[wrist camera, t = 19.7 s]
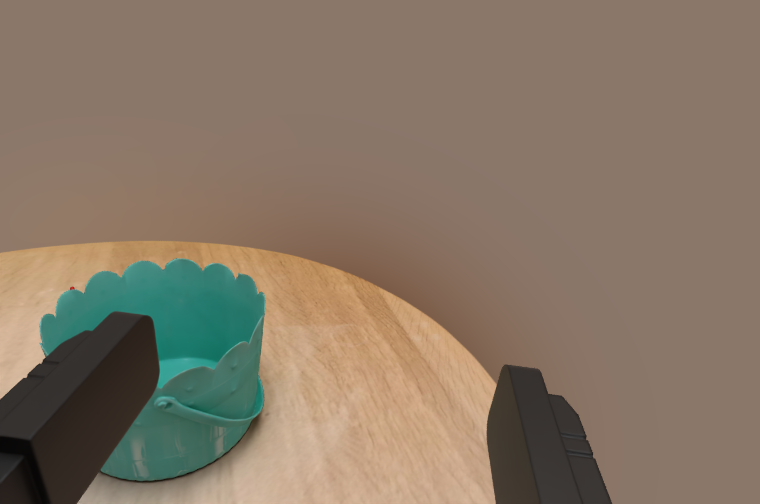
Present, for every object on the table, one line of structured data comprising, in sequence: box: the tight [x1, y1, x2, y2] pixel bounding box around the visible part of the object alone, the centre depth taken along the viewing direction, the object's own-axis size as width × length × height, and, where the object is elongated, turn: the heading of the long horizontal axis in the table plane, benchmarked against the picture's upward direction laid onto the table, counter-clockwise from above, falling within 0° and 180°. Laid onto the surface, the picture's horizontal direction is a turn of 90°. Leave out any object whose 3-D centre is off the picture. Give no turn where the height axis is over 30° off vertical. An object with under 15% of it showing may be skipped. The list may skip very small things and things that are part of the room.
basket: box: [40, 258, 265, 481], centre depth 47 cm, size 19×18×13 cm
